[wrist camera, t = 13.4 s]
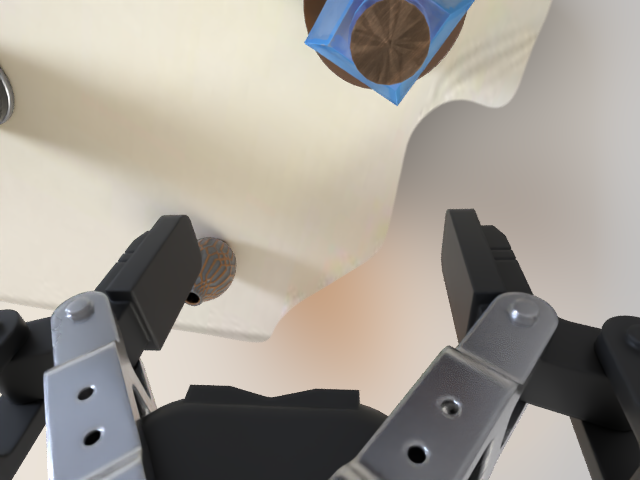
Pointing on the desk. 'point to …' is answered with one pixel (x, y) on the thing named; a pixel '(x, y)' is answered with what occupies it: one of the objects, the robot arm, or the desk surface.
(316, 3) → the jar
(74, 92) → the desk surface
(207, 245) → the vase
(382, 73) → the perfume bottle
